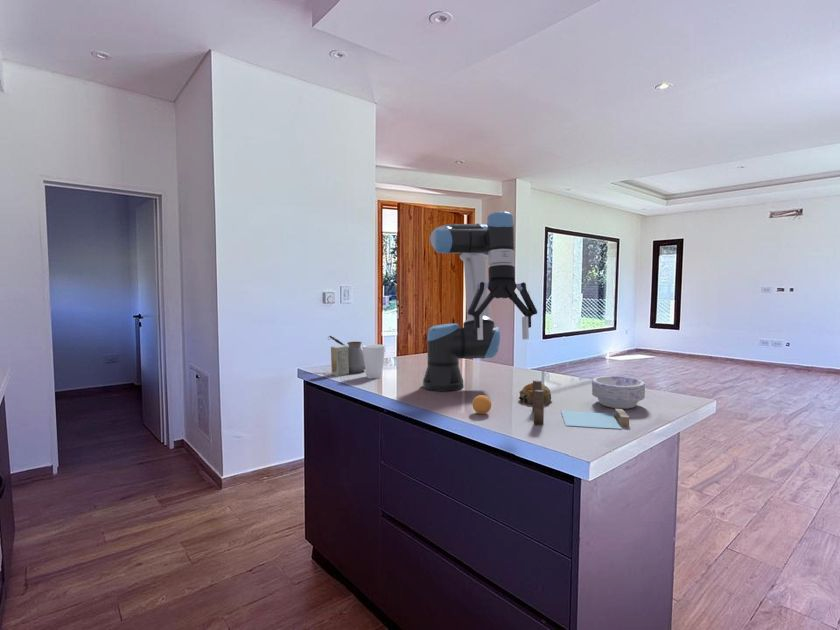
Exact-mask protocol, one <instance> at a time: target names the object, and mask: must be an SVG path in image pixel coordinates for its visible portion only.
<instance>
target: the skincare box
mask: <svg viewBox="0 0 840 630" xmlns="http://www.w3.org/2000/svg"><path fill="white" fill-rule="evenodd" d="M344 345H345V344H344ZM344 345H341V344H340V345H337V346H335V345H334V346H331V347H330V358H331V359H330V361H331V375H332V376H334V377H335V376H336V377H340V376H344V375H349V374H350V373H349V363H348V347H349V346H348V345H346V346H344Z"/></svg>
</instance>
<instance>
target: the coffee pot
mask: <svg viewBox="0 0 840 630" xmlns="http://www.w3.org/2000/svg"><path fill="white" fill-rule="evenodd" d="M329 338H330V339H329ZM327 340H330V341H331V340H333V341H334V342H336V343H337V344H339V345H340V346H341V345H344V346H348V363H349V374H350V373H351V374H352V373H353V374H354V373H357V372H358V373H362V371H363V372H364V371H366V370H365V363H364V356H363V352H362V347H361V346H362V344H363V342H362V341H348V342H347V345H346V344H344V343H343V342H341V341H340V340H339V339H337V338H335V337H334V336H332V335H329V336H328V337H327Z"/></svg>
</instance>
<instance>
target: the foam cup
mask: <svg viewBox="0 0 840 630" xmlns="http://www.w3.org/2000/svg"><path fill="white" fill-rule="evenodd" d="M361 346H362V347H361V349H362V352H363V356H364V363H365V370H364V371H365V375H366V378H367V379H372V378H375V379H380V377H381V378H382V377H383V371H384V369H383V368H384V363H385V354H386V344H385V345H384V344H377V343H376V344H373V343H372V344H364V345H361Z"/></svg>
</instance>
